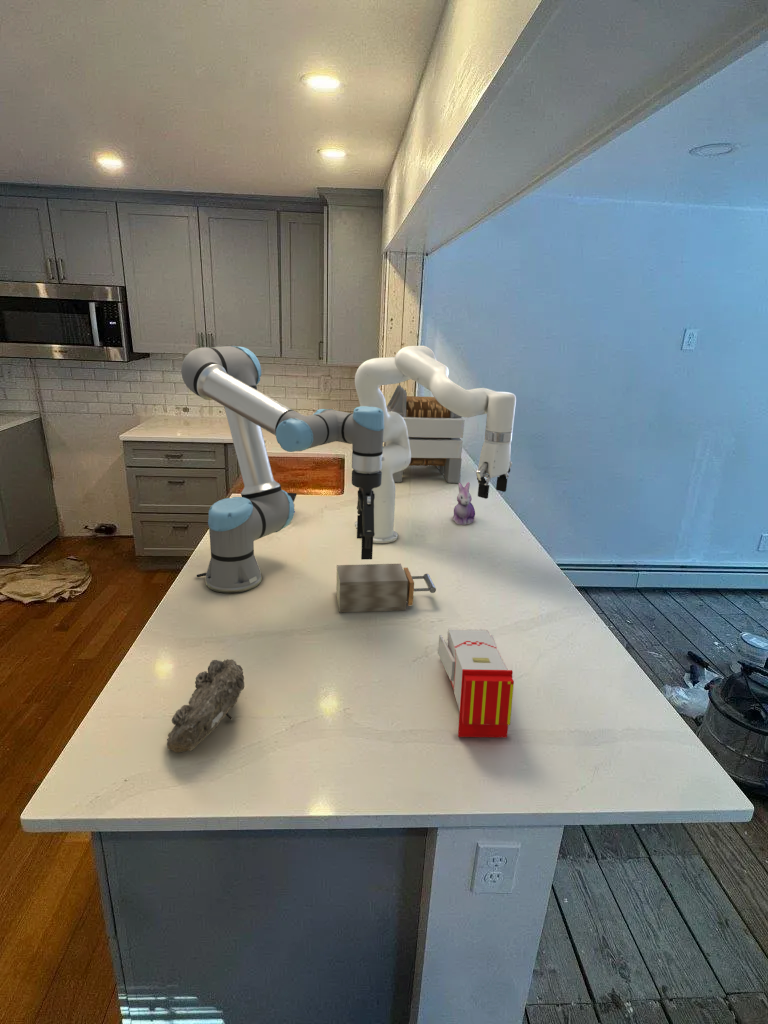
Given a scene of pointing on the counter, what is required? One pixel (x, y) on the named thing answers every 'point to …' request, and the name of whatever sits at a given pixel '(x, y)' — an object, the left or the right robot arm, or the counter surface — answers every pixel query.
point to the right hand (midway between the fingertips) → (492, 494)
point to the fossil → (206, 705)
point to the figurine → (464, 506)
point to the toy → (478, 682)
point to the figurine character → (292, 496)
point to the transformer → (430, 434)
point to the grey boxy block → (371, 587)
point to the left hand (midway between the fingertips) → (364, 548)
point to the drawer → (411, 588)
